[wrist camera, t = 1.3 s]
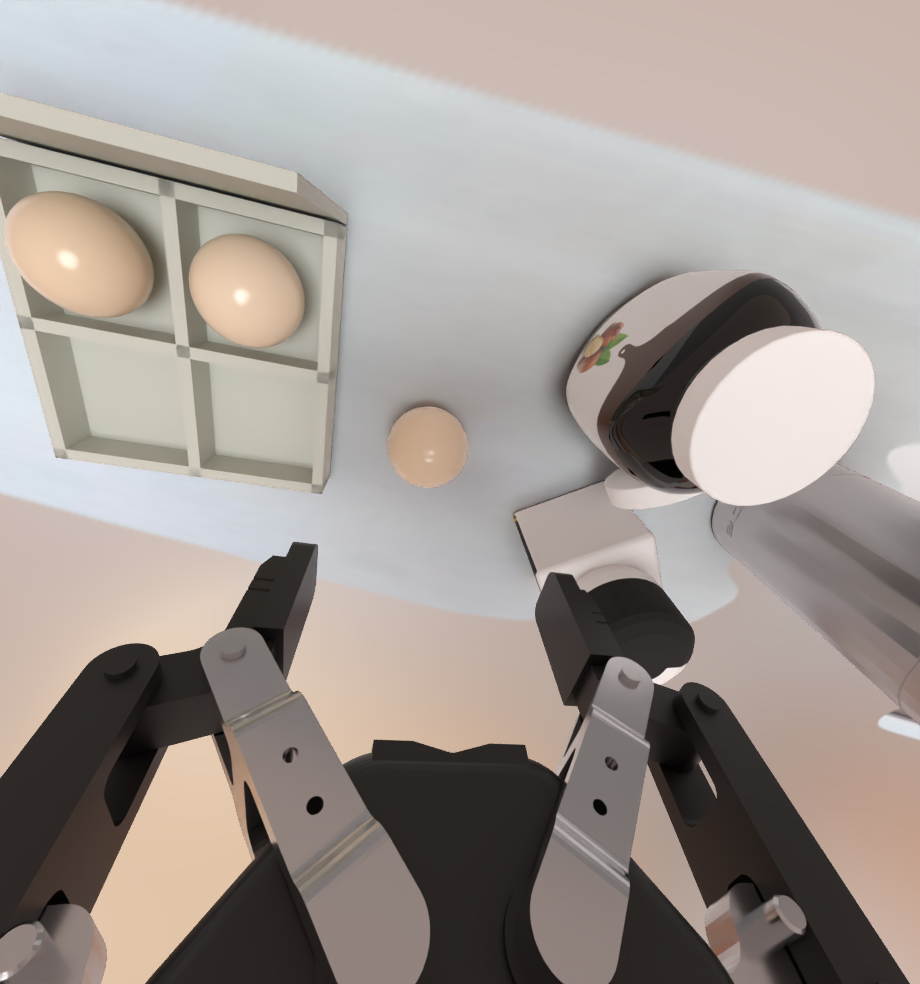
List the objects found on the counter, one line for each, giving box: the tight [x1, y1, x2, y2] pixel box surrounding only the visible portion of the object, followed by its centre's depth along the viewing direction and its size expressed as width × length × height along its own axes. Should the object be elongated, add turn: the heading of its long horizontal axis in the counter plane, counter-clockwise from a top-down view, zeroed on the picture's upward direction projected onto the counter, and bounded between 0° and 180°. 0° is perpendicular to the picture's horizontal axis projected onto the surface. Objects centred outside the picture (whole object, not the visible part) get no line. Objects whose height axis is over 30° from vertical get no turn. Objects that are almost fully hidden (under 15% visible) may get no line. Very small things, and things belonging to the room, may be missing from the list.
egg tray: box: [0, 92, 348, 494], centre depth 18 cm, size 14×15×10 cm
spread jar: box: [566, 270, 875, 510], centre depth 21 cm, size 12×11×12 cm
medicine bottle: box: [514, 481, 695, 685], centre depth 26 cm, size 7×7×12 cm
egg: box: [387, 407, 469, 488], centre depth 24 cm, size 5×5×5 cm
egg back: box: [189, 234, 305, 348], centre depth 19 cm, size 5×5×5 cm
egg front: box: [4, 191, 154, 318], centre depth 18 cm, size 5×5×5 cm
